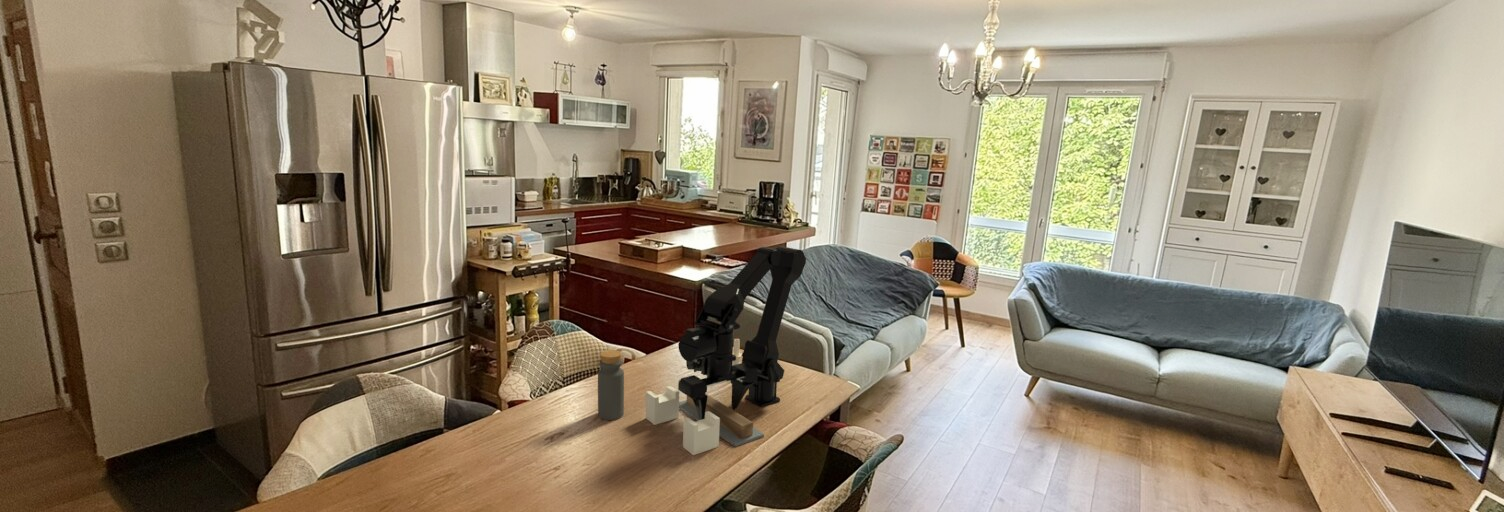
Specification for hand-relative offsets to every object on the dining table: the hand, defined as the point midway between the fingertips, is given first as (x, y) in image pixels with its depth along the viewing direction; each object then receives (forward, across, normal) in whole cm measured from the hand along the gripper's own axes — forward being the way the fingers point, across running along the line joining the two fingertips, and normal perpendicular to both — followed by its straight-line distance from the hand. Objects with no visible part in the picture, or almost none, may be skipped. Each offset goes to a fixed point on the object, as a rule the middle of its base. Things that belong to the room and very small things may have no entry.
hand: (717, 414), depth 140 cm
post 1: (+2, +10, -8) cm, 13 cm away
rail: (+1, 0, 0) cm, 1 cm away
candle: (+2, -21, -21) cm, 30 cm away
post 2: (+2, +10, +8) cm, 13 cm away
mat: (+2, 0, 0) cm, 2 cm away
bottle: (+2, +19, -16) cm, 25 cm away
